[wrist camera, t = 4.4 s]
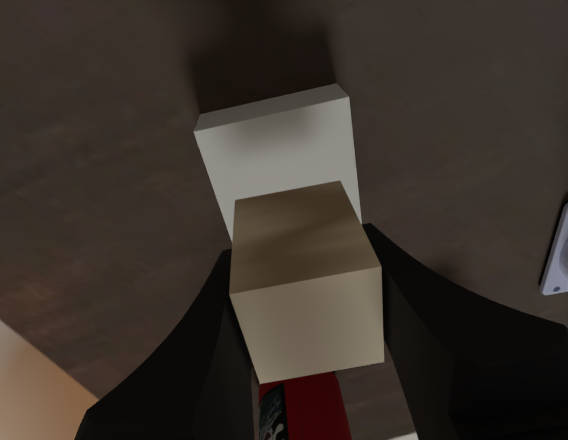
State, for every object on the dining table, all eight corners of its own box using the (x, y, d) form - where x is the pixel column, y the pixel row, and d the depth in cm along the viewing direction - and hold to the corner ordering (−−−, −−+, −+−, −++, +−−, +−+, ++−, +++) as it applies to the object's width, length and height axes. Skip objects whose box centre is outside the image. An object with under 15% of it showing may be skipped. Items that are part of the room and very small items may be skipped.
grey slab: (335, 81, 18) (348, 96, 16) (348, 199, 22) (361, 226, 20) (200, 112, 19) (193, 132, 16) (237, 223, 22) (235, 253, 20)
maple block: (340, 180, 14) (381, 266, 9) (347, 262, 16) (384, 361, 12) (234, 200, 14) (228, 294, 9) (256, 278, 16) (260, 384, 12)
